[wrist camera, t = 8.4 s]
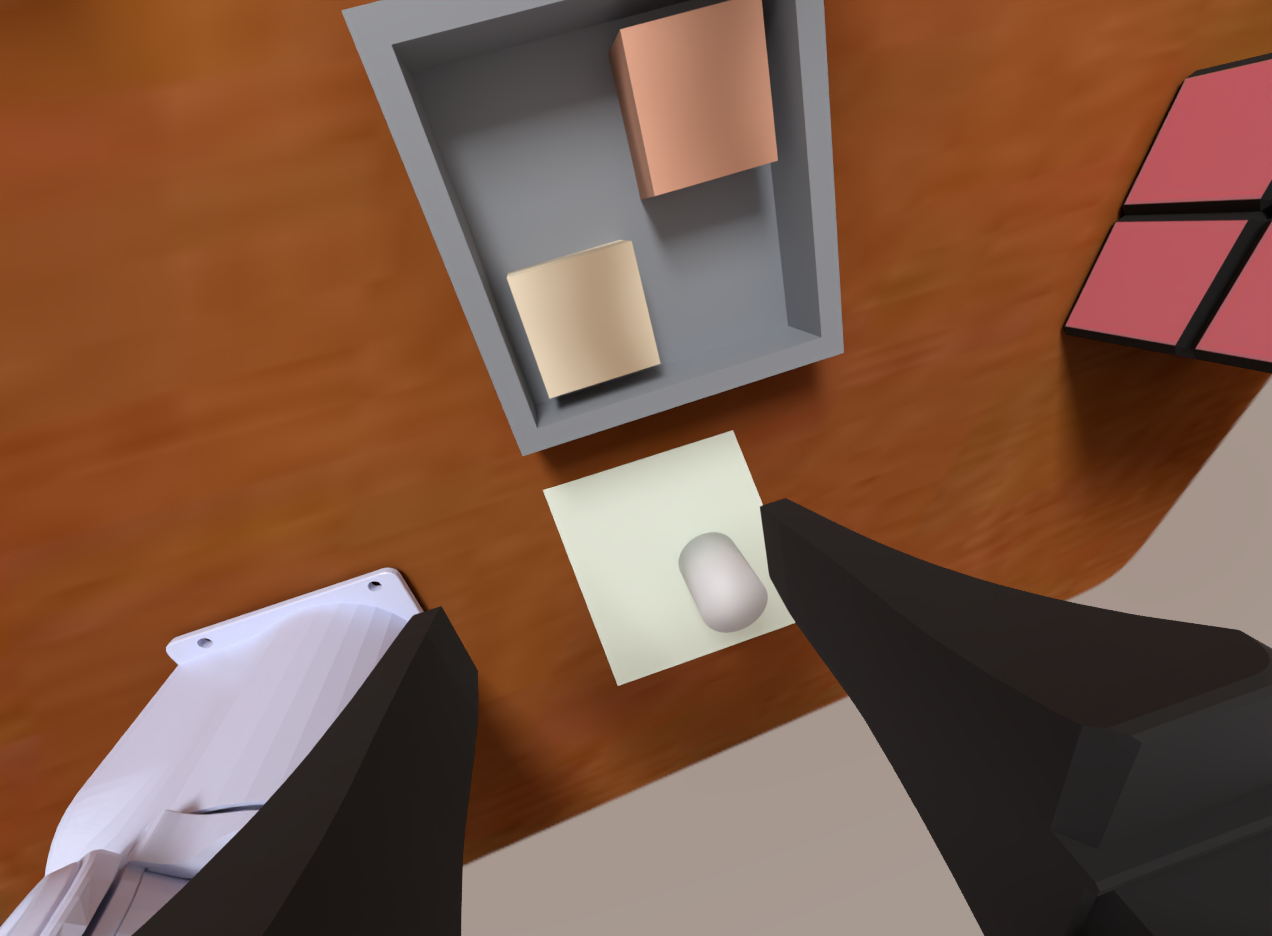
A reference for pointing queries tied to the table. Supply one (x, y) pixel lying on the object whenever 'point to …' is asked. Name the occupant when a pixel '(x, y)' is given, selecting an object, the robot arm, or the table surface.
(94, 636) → the table surface
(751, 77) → the terracotta block
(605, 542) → the lid
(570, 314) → the beech block
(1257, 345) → the puzzle cube
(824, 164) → the box
